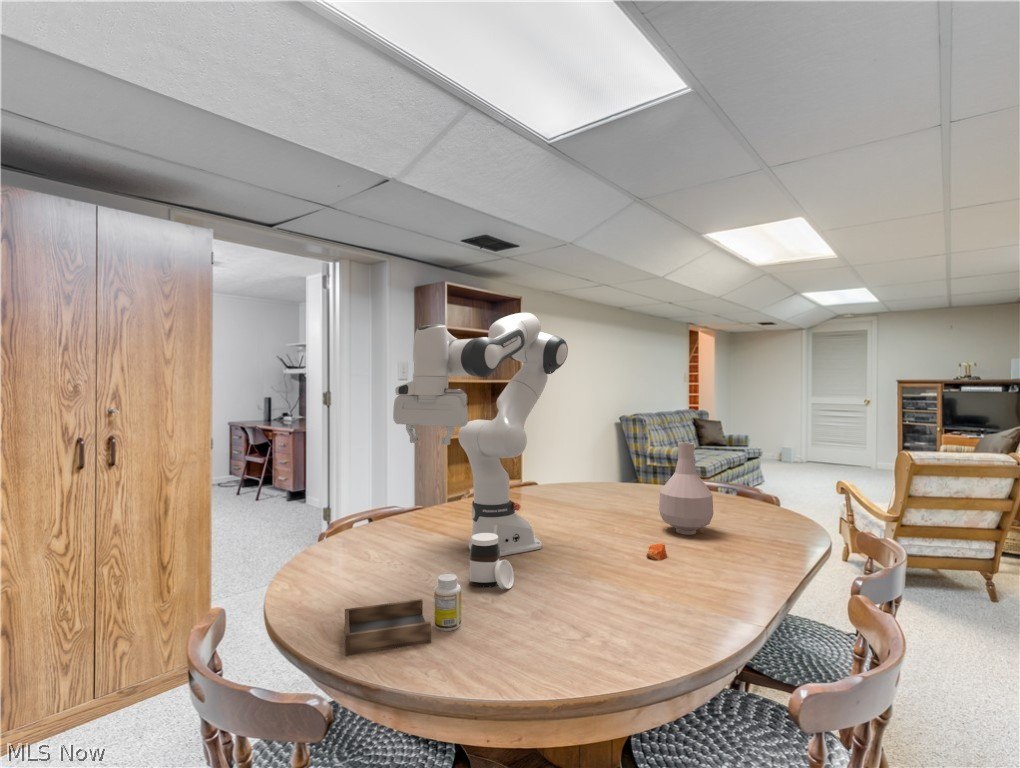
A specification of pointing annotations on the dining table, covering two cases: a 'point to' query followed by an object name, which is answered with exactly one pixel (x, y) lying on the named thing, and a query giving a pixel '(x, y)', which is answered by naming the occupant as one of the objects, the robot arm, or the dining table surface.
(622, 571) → the dining table surface
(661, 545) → the rock
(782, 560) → the dining table surface
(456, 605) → the supplement bottle
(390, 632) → the tray
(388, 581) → the dining table surface
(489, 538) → the spread jar
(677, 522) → the vase
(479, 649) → the dining table surface
